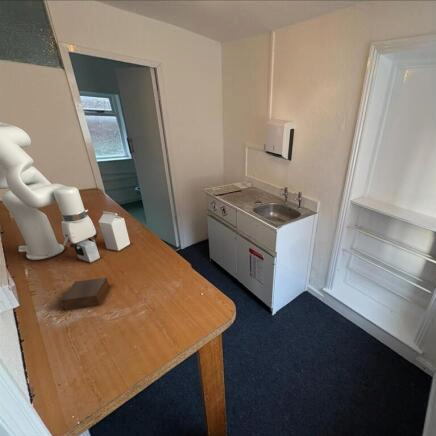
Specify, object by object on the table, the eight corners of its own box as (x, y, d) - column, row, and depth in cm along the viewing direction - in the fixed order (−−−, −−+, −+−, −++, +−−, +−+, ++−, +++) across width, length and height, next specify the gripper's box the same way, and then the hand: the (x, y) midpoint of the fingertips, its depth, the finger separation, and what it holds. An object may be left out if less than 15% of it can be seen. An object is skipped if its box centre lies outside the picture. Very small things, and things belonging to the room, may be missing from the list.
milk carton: (118, 251, 114) (108, 216, 106) (106, 248, 115) (95, 214, 107) (130, 244, 121) (122, 210, 113) (118, 241, 122) (109, 208, 114)
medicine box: (100, 258, 108) (95, 242, 105) (90, 263, 105) (84, 246, 101) (88, 253, 111) (83, 238, 107) (78, 258, 107) (72, 242, 103)
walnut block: (65, 310, 81) (60, 300, 79) (78, 290, 89) (75, 281, 88) (99, 305, 84) (96, 295, 82) (109, 286, 92) (106, 277, 91)
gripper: (89, 207, 107) (99, 241, 114) (44, 221, 92) (59, 259, 100) (101, 210, 105) (111, 244, 113) (57, 225, 90) (72, 264, 98)
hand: (87, 251), depth 106 cm, fingers closed on medicine box, 4 cm apart
